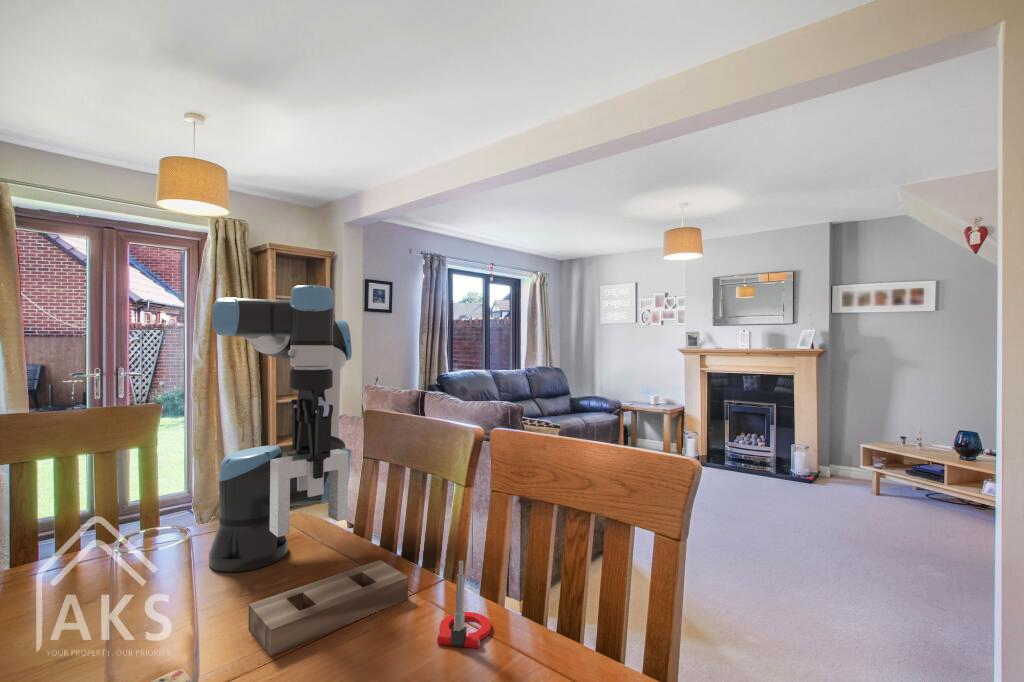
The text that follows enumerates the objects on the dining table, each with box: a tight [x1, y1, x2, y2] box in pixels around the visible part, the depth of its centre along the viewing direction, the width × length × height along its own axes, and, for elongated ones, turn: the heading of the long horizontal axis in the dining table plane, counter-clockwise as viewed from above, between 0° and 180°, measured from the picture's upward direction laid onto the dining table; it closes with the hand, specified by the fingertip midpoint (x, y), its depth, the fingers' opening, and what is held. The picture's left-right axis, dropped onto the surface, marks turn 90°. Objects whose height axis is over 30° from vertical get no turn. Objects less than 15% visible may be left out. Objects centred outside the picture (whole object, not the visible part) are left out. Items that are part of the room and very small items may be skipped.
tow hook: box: [436, 560, 492, 649], centre depth 81 cm, size 8×13×9 cm
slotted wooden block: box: [247, 559, 409, 657], centre depth 86 cm, size 10×24×4 cm, turn 135°
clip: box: [270, 449, 349, 537], centre depth 93 cm, size 4×13×13 cm, turn 135°
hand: (310, 491), depth 93 cm, fingers closed on clip, 4 cm apart
